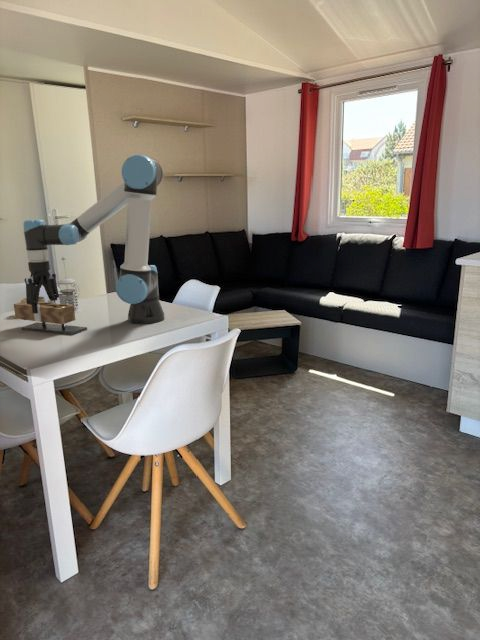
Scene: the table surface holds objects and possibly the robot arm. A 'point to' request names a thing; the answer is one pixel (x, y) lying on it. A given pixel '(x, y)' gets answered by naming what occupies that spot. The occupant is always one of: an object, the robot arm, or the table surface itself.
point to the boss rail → (54, 328)
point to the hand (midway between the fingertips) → (45, 318)
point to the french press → (68, 293)
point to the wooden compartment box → (46, 312)
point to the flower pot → (41, 299)
